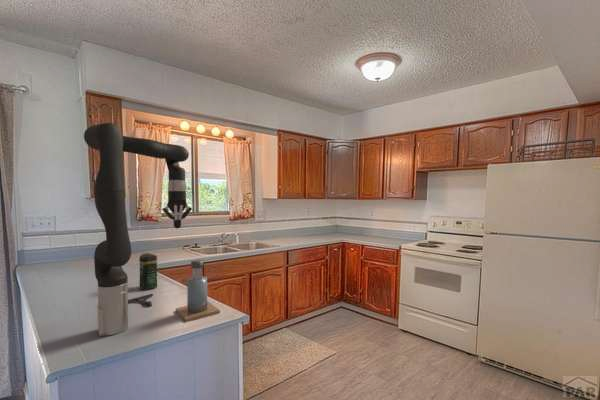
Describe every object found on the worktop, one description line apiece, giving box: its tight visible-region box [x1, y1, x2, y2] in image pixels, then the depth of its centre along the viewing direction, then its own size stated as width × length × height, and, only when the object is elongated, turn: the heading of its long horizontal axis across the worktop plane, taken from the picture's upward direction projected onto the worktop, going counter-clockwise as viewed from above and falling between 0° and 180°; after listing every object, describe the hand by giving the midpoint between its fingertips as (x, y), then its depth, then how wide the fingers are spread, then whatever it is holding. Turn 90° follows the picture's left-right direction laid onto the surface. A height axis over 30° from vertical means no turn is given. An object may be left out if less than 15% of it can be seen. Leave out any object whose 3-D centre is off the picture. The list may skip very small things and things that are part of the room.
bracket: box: [128, 293, 154, 308], centre depth 134 cm, size 14×15×3 cm
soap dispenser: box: [175, 267, 221, 323], centre depth 123 cm, size 14×14×19 cm
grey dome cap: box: [190, 259, 205, 269], centre depth 121 cm, size 5×8×7 cm, turn 39°
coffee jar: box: [138, 252, 158, 291], centre depth 156 cm, size 10×8×19 cm
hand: (177, 228), depth 132 cm, fingers closed
